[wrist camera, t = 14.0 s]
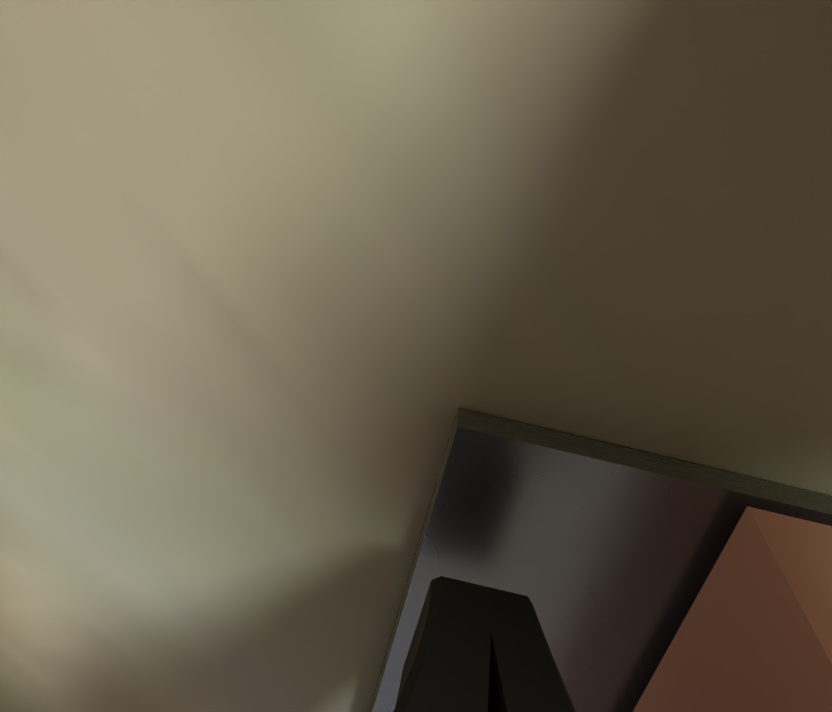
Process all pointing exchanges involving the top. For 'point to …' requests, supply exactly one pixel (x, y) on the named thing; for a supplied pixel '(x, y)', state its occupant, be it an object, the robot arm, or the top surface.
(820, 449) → the top surface
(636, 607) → the vise bed
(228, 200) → the top surface
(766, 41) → the top surface
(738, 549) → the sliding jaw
